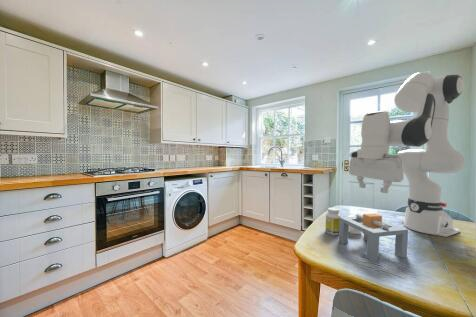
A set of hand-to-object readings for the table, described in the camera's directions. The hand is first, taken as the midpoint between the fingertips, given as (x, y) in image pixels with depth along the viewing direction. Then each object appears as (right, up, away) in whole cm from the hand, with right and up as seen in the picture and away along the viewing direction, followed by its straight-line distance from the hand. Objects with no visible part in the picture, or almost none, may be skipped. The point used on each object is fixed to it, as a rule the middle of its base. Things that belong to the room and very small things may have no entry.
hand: (372, 190), depth 77 cm
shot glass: (+3, -22, +17) cm, 28 cm away
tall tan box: (0, -17, +1) cm, 17 cm away
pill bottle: (-8, -22, +16) cm, 28 cm away
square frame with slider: (0, -23, +1) cm, 23 cm away
